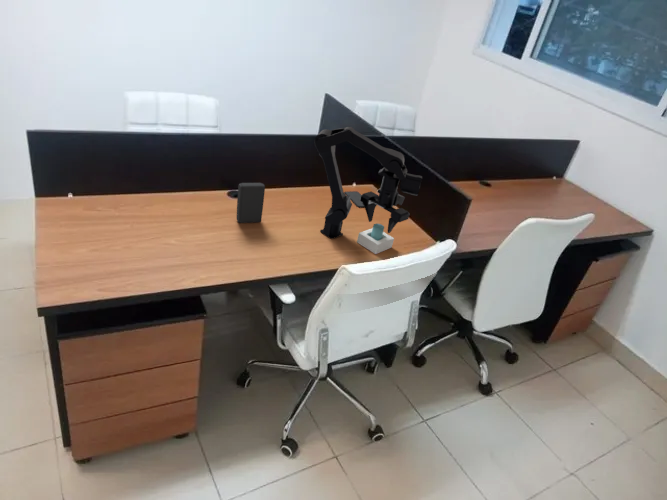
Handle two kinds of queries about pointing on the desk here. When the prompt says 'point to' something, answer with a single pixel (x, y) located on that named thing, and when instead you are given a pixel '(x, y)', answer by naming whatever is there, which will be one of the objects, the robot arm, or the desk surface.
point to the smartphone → (355, 198)
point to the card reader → (250, 202)
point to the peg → (377, 231)
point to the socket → (375, 241)
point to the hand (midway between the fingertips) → (379, 227)
